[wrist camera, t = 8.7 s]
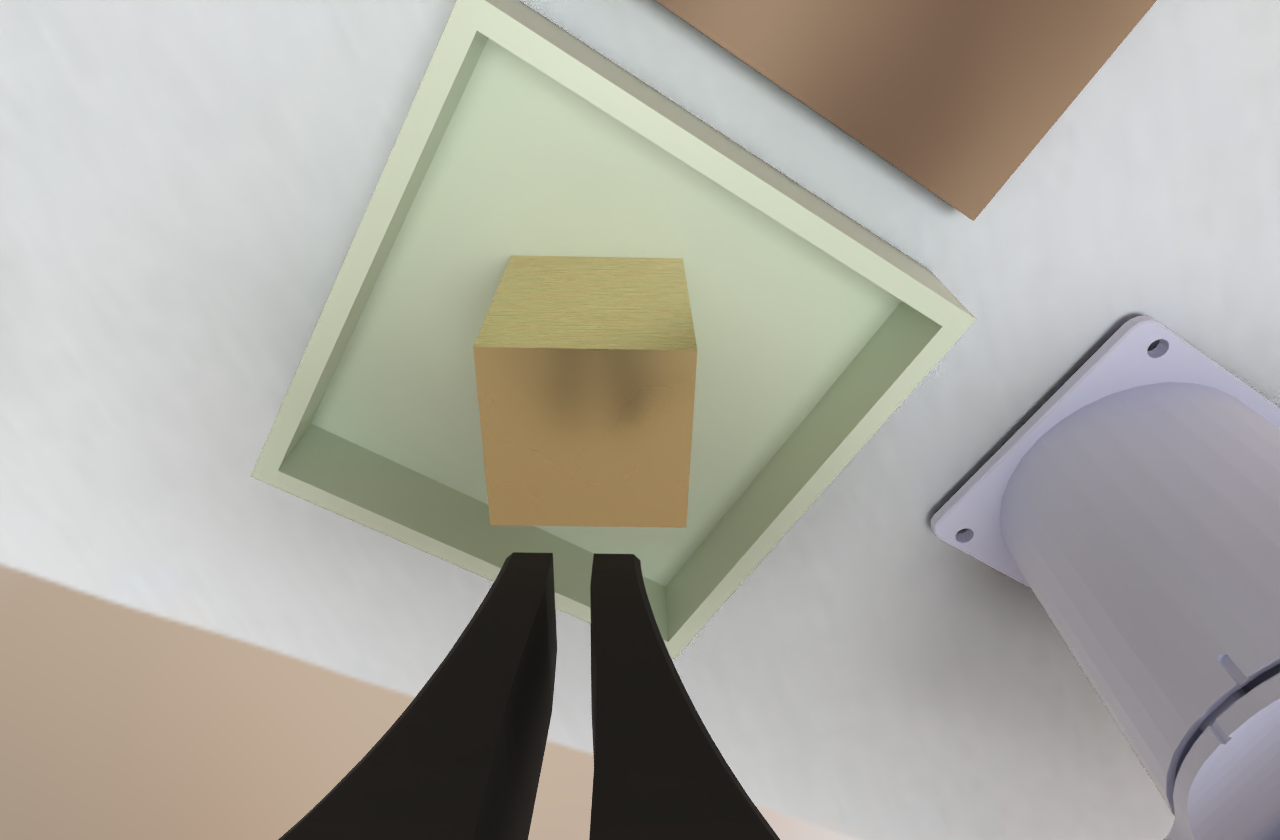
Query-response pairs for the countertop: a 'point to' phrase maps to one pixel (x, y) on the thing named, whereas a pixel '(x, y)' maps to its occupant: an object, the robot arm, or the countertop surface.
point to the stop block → (588, 392)
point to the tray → (596, 227)
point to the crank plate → (928, 73)
